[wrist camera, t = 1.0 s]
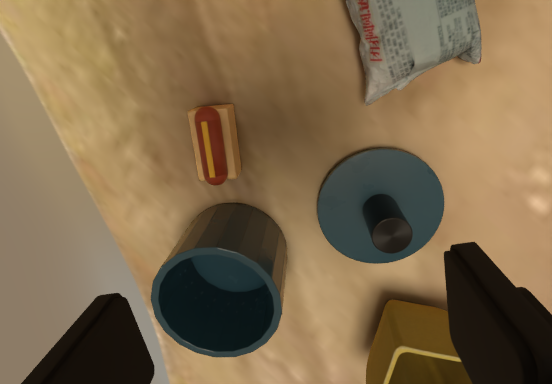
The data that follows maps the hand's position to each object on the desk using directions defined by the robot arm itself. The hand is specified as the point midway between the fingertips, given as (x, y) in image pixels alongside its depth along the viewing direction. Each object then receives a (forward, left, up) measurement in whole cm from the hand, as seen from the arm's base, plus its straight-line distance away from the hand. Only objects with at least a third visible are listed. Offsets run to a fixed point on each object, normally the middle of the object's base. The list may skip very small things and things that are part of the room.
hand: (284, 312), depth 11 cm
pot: (+10, -7, -23) cm, 26 cm away
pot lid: (+6, +7, -22) cm, 24 cm away
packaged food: (-10, +8, -23) cm, 26 cm away
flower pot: (+19, +10, -23) cm, 31 cm away
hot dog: (-1, -7, -23) cm, 24 cm away
